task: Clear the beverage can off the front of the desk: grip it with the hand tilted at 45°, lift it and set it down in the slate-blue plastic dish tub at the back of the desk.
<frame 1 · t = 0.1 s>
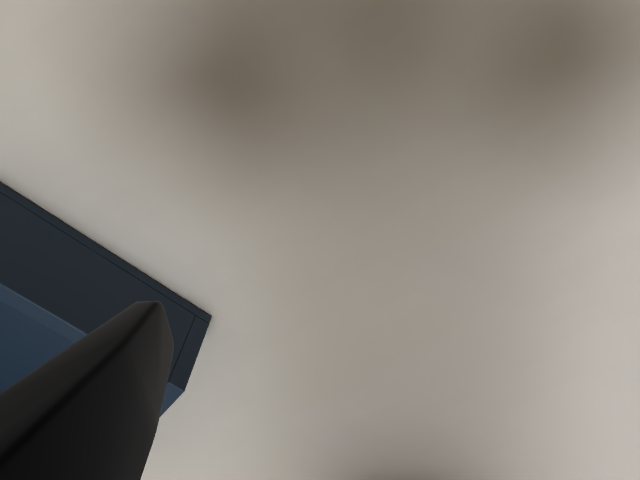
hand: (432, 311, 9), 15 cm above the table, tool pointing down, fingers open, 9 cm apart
tub: (42, 325, 29), on the table
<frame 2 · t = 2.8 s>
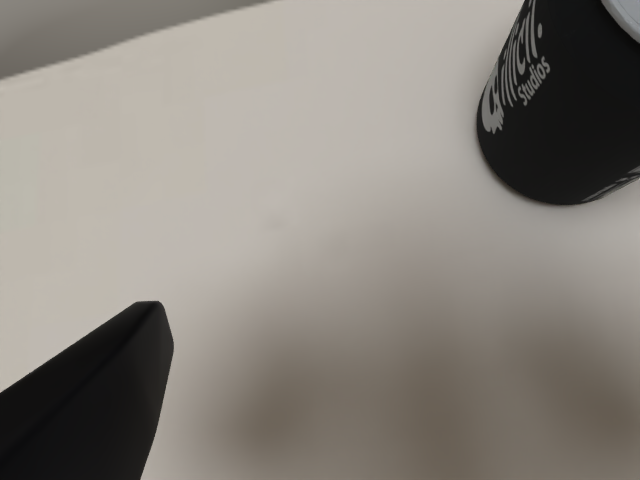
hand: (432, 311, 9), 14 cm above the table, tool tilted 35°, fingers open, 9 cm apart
beverage can: (554, 130, 23), on the table
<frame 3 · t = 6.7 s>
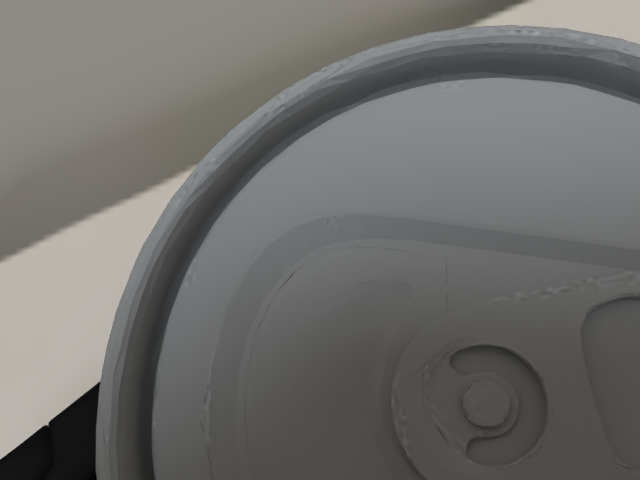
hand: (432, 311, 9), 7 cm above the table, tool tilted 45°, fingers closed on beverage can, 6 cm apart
beverage can: (416, 398, 15), on the table, touching gripper
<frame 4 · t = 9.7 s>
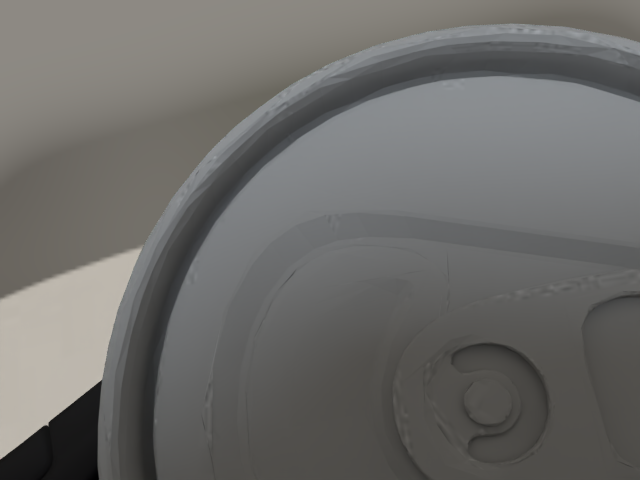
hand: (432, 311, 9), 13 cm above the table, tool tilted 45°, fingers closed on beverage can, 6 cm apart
beverage can: (416, 398, 15), point 7 cm above the table, touching gripper
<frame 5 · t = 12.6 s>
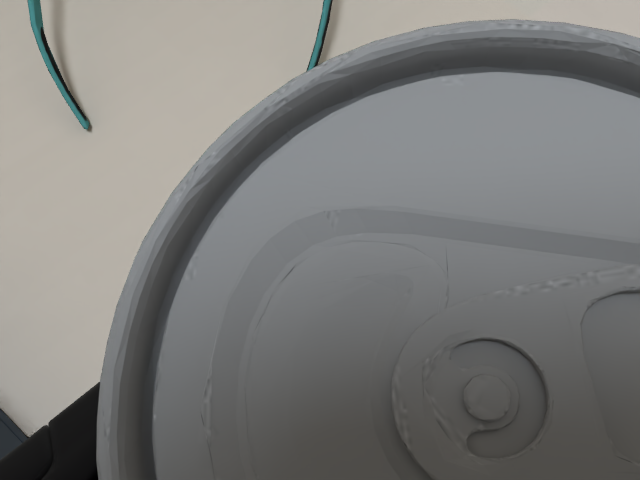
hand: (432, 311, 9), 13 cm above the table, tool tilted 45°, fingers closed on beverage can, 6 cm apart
beverage can: (416, 397, 15), point 7 cm above the table, touching gripper
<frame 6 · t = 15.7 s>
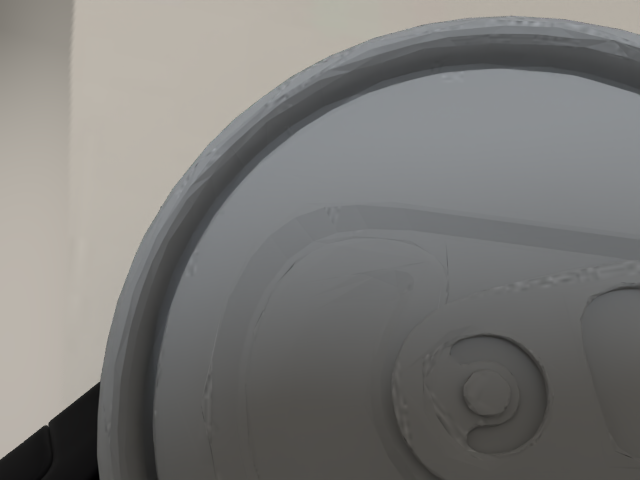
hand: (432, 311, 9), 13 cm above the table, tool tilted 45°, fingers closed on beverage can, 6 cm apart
beverage can: (416, 396, 15), point 7 cm above the table, touching gripper
when the fingers open (7 cm above the table, at t = 18.5 s): beverage can stays where it is, resting on tub.
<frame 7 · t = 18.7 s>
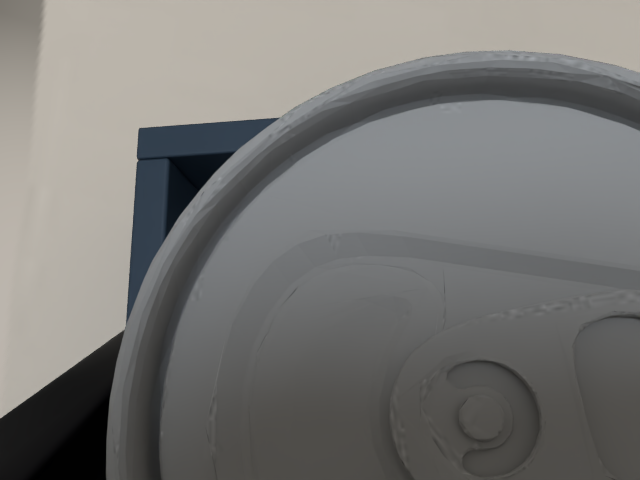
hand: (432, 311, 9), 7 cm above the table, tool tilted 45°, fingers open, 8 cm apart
tub: (416, 398, 16), on the table
beverage can: (416, 402, 16), resting on tub
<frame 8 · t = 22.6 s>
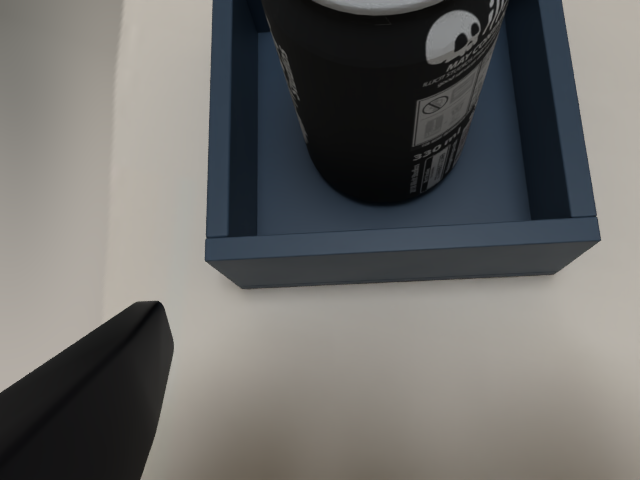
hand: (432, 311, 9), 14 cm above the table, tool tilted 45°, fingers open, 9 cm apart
tub: (385, 139, 25), on the table
beverage can: (384, 137, 24), resting on tub
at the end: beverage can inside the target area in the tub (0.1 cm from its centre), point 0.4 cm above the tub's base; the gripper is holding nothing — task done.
